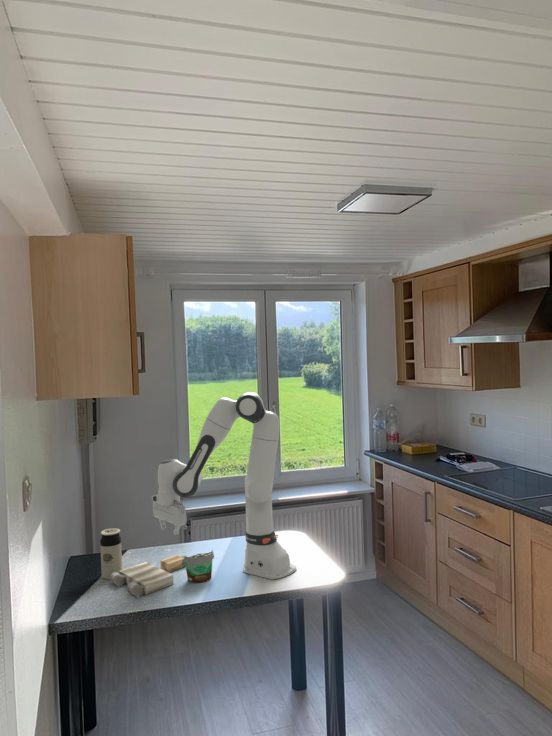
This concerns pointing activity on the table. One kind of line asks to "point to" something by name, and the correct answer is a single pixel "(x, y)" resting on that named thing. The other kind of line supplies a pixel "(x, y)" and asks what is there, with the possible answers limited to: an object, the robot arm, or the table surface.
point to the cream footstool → (142, 578)
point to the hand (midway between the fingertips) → (169, 531)
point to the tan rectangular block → (172, 563)
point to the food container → (199, 567)
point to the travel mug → (110, 552)
